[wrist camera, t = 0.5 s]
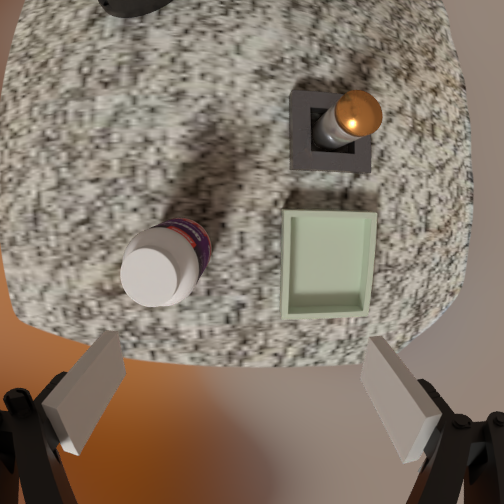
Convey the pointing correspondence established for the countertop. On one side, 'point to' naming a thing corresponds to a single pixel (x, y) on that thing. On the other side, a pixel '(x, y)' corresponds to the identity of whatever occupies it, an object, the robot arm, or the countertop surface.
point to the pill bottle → (165, 262)
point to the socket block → (301, 137)
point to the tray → (326, 263)
